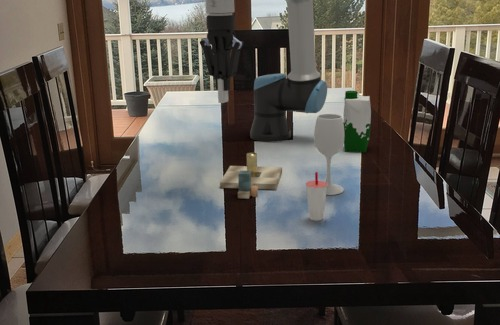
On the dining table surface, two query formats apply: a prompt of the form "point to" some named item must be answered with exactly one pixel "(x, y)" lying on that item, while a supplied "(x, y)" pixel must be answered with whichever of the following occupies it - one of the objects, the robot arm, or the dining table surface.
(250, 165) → the post
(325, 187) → the cup
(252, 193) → the dowel
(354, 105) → the milk carton
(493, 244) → the dining table surface
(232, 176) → the light wooden flat board
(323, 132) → the wineglass
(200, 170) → the dining table surface
